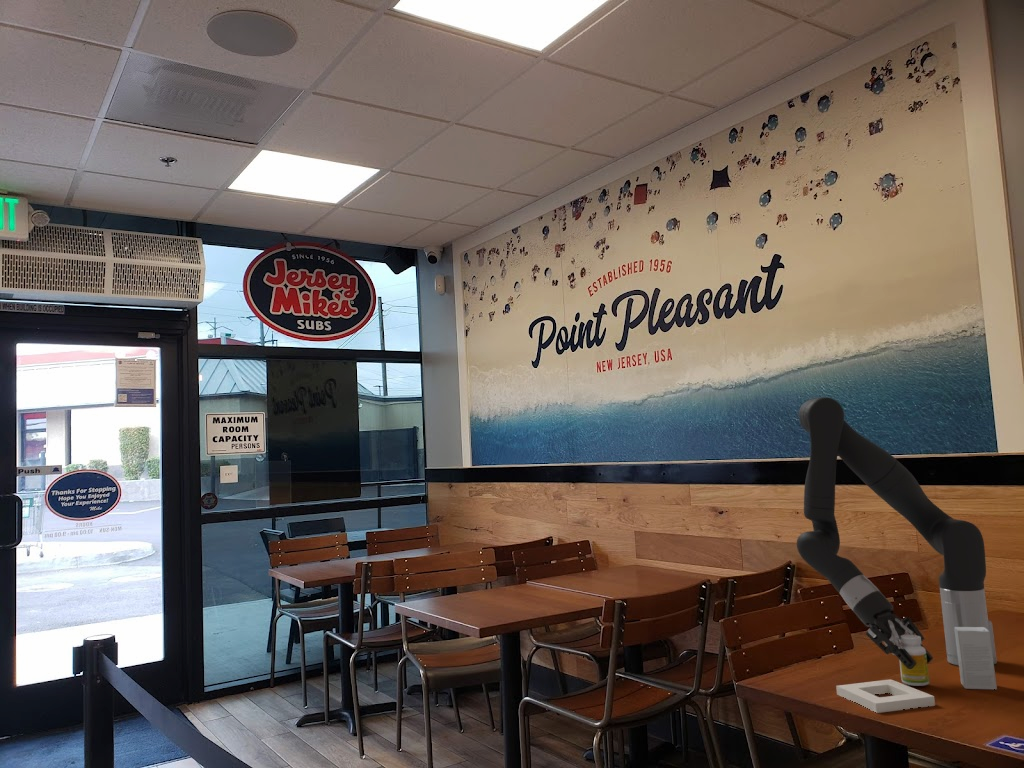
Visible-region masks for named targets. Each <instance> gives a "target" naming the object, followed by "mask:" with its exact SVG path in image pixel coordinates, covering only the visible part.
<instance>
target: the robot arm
mask: <svg viewBox="0 0 1024 768" xmlns="http://www.w3.org/2000/svg"><path fill="white" fill-rule="evenodd" d="M798 421H799V423H800V425H801V427H802V428H803V429H804V430H805V431H806V432H807V433H809V437H810V454H809V462H808V467H807V471H806V475H805V476H806V477H805V480H804V481H805V483H804V489H803V490H804V492H803V515H804V517H805V519H807V520H809V521H811V523H812V528H813V531H805V532H802V533H800V535H799V536H798V537H797V540H796V548H797V552H798V553H799V555H800V557H801V558H802V560H804V562H806V564H808V565H809V566H810V567H811V568H813V569H814V570H815V571H816V572H818V574H820V575H821V576H823V577H824V578H825V579H826V580H828V581H829V582H830V584H831V585H832V586H833V588H835V590H836V592H838V593H839V595H840V596H841V597H842V599H843V600H844V602H845V603H846V605H848V607H849V608H850V609H851V611H852V612H853V613H854V614H855V615H856V616H857V618H858V619H859V620H860V621H861V623H863V625H864V626H865V627H869V628H868V629H867V630H866V631H865V635H866V636H867V637H868V638H869V639H870V640H871V641H872V642H873V643H874V644H875V645H876V646H877V647H878V648H879V649H880V650H881V651H882V652H883V653H884V654H886V655H889V654H892V655H893V656H895V657H897V659H898V661H899V660H900V661H901V662H902V663H903V664H904V665H905V666H906V667H907V668H908V669H912V668H913V667H914V666H915V665H916V662H915V661H914V659H913V658H912V657H911V656H910V655H909V654H908V652H907V651H906V650H905V649H902V648H903V647H902V643H901V638H900V636H901V635H917V636H920V637H921V644H920V645H921V646H922V647H924V646H923V644H922V642H923V641H924V640H925V637H924V635H923V634H922V633H921V631H920V630H919V629H918V627H917V626H916V624H915V622H913V621H912V619H911V618H910V617H909V616H906V617H905V618H904V619H903V618H900V617H899V616H897V615H896V614H895V613H894V606H893V604H892V603H891V602H890V600H889V599H888V598H886V596H885V595H884V594H883V593H882V592H881V590H880V589H879V588H878V587H877V586H876V585H875V584H874V582H872V581H871V580H870V579H869V578H867V577H866V576H865V574H864V573H863V572H862V571H861V570H860V569H859V568H858V567H857V566H856V565H855V563H854V562H852V561H851V560H850V559H848V558H846V557H842V556H839V555H838V553H839V550H840V547H841V546H840V545H841V542H840V541H841V540H840V533H839V529H838V523H837V520H836V515H835V509H836V508H835V507H836V478H837V477H836V476H837V475H836V474H837V463H838V457H839V458H840V459H841V460H842V461H843V462H844V464H845V465H846V466H847V467H848V468H849V469H850V470H851V471H852V472H853V473H854V474H855V475H856V476H857V477H859V479H860V480H861V481H862V482H863V483H864V484H865V485H866V486H868V488H869V489H871V491H872V492H874V493H875V494H876V495H877V496H878V497H879V498H880V499H882V500H883V501H884V502H886V504H888V505H889V506H890V507H891V508H892V509H893V510H894V511H895V512H897V513H898V514H900V515H901V516H902V517H903V518H904V519H906V520H907V521H908V522H909V523H910V524H911V526H913V527H914V529H915V530H916V531H917V532H918V533H919V535H921V536H922V537H923V539H924V540H925V541H926V542H927V543H928V544H929V545H930V547H931V548H932V549H933V550H934V551H936V552H937V553H939V554H940V555H942V556H943V565H944V566H943V572H942V573H941V574H940V575H939V576H938V583H939V584H938V586H939V593H940V602H941V611H942V621H943V631H944V637H945V638H944V641H945V649H946V656H947V657H946V659H947V662H948V664H952V665H954V666H959V662H958V654H957V646H956V638H955V630H954V627H985V628H986V629H987V630H988V631H990V639H991V646H992V654H993V662H994V665H995V664H997V662H998V660H997V653H996V645H995V637H994V629H993V622H992V621H991V620H989V618H988V617H989V616H988V609H987V602H986V601H987V600H986V593H985V579H986V575H987V563H986V551H985V542H984V537H983V534H982V532H981V530H980V529H979V527H977V525H976V524H974V523H972V522H970V521H967V520H962V519H956V518H953V517H952V516H950V515H949V514H947V513H946V512H944V511H943V510H942V509H940V507H939V506H937V505H936V504H935V503H933V501H931V500H930V498H929V497H928V496H927V494H925V492H924V490H923V488H922V487H921V485H920V484H919V482H918V481H917V479H916V478H915V476H914V475H913V473H911V472H910V471H909V470H908V469H907V467H906V466H905V465H903V464H902V463H901V462H899V460H898V459H896V458H895V457H894V456H893V455H892V454H891V453H889V452H888V451H886V450H885V449H884V448H882V447H880V446H878V445H877V444H876V443H874V442H873V441H871V440H869V439H868V438H866V437H864V436H862V435H861V434H860V433H858V432H857V431H856V430H855V429H854V428H852V426H851V425H850V424H849V423H847V421H845V411H844V408H843V406H842V404H841V403H839V402H838V401H837V400H836V399H834V398H832V397H827V396H823V397H822V396H821V397H815V398H811V399H809V400H806V401H805V402H804V403H802V405H800V408H799V409H798ZM925 650H926V656H927V665H929V664H930V663H931V662H932V661H933V660H934V657H933V656H932V654H931V653H930V652H929V651H928V650H927V649H926V648H925Z"/></svg>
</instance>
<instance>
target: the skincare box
mask: <svg viewBox="0 0 1024 768" xmlns="http://www.w3.org/2000/svg"><path fill="white" fill-rule="evenodd" d="M954 630H955V638H956V646H957V654H958V662H959V665H958V668H959V676H960V677H959V678H960V683H961V685H962V686H963V688H964V689H966V690H994V689H995V690H998V687H997V679H996V672H995V664H994V662H993V654H992V646H991V639H990V631H988V630H987V629H986V628H985V627H954ZM995 690H994V691H995Z"/></svg>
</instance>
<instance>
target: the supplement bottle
mask: <svg viewBox="0 0 1024 768" xmlns="http://www.w3.org/2000/svg"><path fill="white" fill-rule="evenodd" d="M900 638H901V642H900V643H901V645H902V647H903V648H902V649H905V650H906V651H907V652H908V654H909V655H910V656H911V657H912V658H913V659H914V661H915V662H916V665H915V666H914V667H913V668H912V669H908V668H907V667H906V666H905V665H904V664H903V663H902V662H901V661H900V660H899V659H898V661H899V670H900V679H901V683H902V684H904V685H907V686H914V687H923V686H927V685H929V684H930V675H929V667H928V665H929V664H927V656H926V650H927V649H926V648H925V646H923V647H922V646H921V645H920V644H922V643H921V637H920V636H917V635H916V634H914V635H906V634H904V635H901V636H900ZM925 649H926V650H925Z"/></svg>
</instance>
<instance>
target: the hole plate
mask: <svg viewBox="0 0 1024 768" xmlns="http://www.w3.org/2000/svg"><path fill="white" fill-rule="evenodd" d="M835 688H836V695H837V696H840V697H841V698H843V697H844V699H845V698H846V699H845V700H848V701H850V700H851V701H850V702H852V701H853V702H852V703H854V702H856V703H858V704H860V705H862V706H861V707H863V706H864V707H863V708H865V707H866V708H865V709H867V708H868V709H867V710H869V709H870V711H871V712H873V711H874V712H873V713H875V712H876V714H881V713H887V712H888V713H889V712H897V711H904V710H903V709H905V710H911V709H910V708H913V709H918V707H921V708H926V707H928V706H929V707H934V706H936V701H935V696H934V695H932V694H929V693H927V692H925V691H922V690H919V689H916V688H914V687H911V686H910V685H908V684H905V683H902V682H899V681H896V680H893V679H891V678H890V679H881V680H875V681H865V682H857V683H848V684H842V685H841V684H839V685H835ZM885 693H888V694H889V693H890V694H889V695H890V696H880V697H879V696H877V695H875V694H879V695H884V694H885ZM891 694H892V695H891ZM885 695H886V694H885ZM856 703H855V704H856ZM858 704H857V705H858ZM860 705H859V706H860Z"/></svg>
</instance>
